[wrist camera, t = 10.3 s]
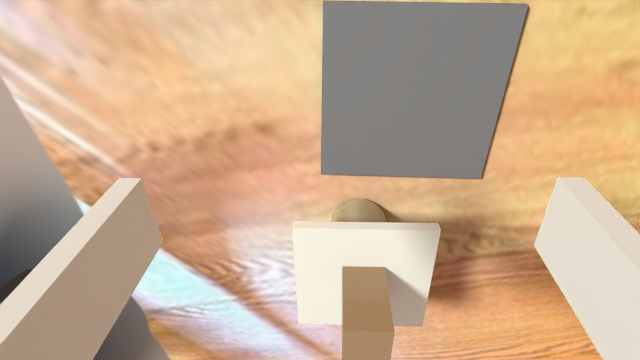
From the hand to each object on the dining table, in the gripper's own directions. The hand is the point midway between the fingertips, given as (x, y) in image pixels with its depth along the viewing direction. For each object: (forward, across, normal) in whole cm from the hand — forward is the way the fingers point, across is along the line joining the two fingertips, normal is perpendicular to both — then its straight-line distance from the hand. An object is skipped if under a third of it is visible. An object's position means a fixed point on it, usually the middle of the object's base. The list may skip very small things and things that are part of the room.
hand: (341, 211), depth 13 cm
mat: (+26, +6, -6) cm, 27 cm away
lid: (+17, +2, -20) cm, 27 cm away
